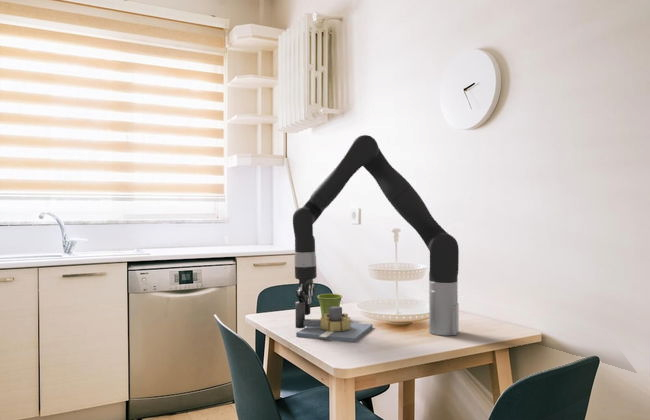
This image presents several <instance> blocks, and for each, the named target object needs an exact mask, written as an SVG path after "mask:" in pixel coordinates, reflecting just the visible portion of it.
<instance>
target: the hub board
mask: <svg viewBox="0 0 650 420" xmlns="http://www.w3.org/2000/svg"><path fill="white" fill-rule="evenodd" d="M342 314H343V307H342V306H340V307H338V306H333V307H329V318H330V321H341V318H342ZM373 326H374V325H373V324H372V323H370V324H369V323H360V322H351V329H349V330H345V331H326V330H323V329H321V327H305V328H301V330H298V331H297V332H296V333H295V336H296V337H299V338H307V339H308V338H309V339H318V340H329V341H336V342H348V343H356V342H357V341H358V340H360V339H361V338H362V337H363V336H365V335H366V334H367V333H368V332H369V331H370V330H372V329H373Z"/></svg>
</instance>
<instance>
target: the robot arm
mask: <svg viewBox="0 0 650 420" xmlns="http://www.w3.org/2000/svg"><path fill="white" fill-rule="evenodd" d="M362 167H363V168H364V170H366V171H367V172H368V173H369V174H370V175H371V176H372V177H373V179H374V180H375V182H376V183H377V185H378V186H379V187H378V188H380V190H381V192H382V194H383V195H384V196H385V197H386V199H387V200H388V203H390V204H391V206H392V208H394V210H395V211H396V212H397V213H398V214H399V216H401V217H402V218H403V220H404V221H406V222H407V223H408V224H409V225H410V226H411V227H412V228H413V229H414V230H415V231H416V233H417V234H418V235H419V237H420V238H421V239H422V241H423V243H424V244H425V246H426V248H427V249H428V251H429V272H428V274H429V275H428V282H429V283H428V287H429V288H428V289H429V290H428V295H429V296H428V298H429V299H428V300H429V302H428V303H429V304H428V305H429V308H428V309H429V313H428V315H429V318H428V319H429V325H428V326H429V328H428V329H429V333H430V334H432V335H436V336H458V333H459V328H460V327H459V320H460V318H459V317H460V316H459V312H460V311H459V302H458V301H459V299H458V296H459V295H458V293H459V292H458V278H459V277H458V275H459V263H460V262H459V261H460V260H459V259H460V257H459V255H460V254H459V253H460V251H459V249H460V248H459V243H458V241H457V240H456V238H455V237H454V236H453V235H451V234H449V233H448V232H447V231H446V230H445V229H444V228H443V227H442V226H441V225H440V224H439V223H438V222H437V220H435V219H434V218H435V217H433V216H432V214H431V212H430V210H429V208H428V207H427V205H426V203H425V202H424V201H423V199H422V198H421V196H420V195H419V193H418V192H417V191H416V189H415V188H414V187H413V186H412V185H411V183H410V182H409V181H408V180H407V179H406V178H405V177H404V176H403V175H402V174H401V173H400V172H399V171H397V170H396V169H395V168H394V167H393V166H392V165H391V164H390V162H389V161H388V160H387V158H386V157H385V155H384V154H383V152H382V150H381V148H379V144H378V143H377V141H376V139H375V138H374V137H372V136H371V135H367V134H364V135H363V134H362V135H360V136H358V137H356V138H355V139H354V141H353V142H352V144H351V145H350V146H349V148H348V150H347V152H346V153H345V155H344V157H343V158H342V159H341V160H340V162H339V163H338V164H337V166H336V167H335V168H334V169H333V170H332V171H331V172H330V173H329V174H328V176H327V177H326V178H324V180H323V181H322V182H321V183H320V184H319V185H318V186H317V187H316V189H315V190H314V191H312V194H311V195H310V198H309V199H308V200H307V201H306V202H305V204H304V205H303V206H302V207H299V208H297V209H296V210H295V211H294V213H293V214H292V226H293V227H292V228H293V235H294V253H295V254H294V278H295V279H296V280H299V281H298V289H297V290H295V294H296V297H297V300H298V301H304V302H305V316H308V315H310V314H311V304H312V301H314V297H315V294H316V290H317V285H316V284H314V279H316V278H317V275H318V274H317V273H318V272H317V256H316V255H317V254H316V238H315V236H314V223H316V221H317V220H318V219H319V217H320V216H321V215H322V213H323V212H324V211H325V209H327V208H328V207H329V206H330V204H332V202H333V201H334V200H335V199H336V198H337V197H338V195H339V194H341V192H342V190H343V189H344V188H345V186H346V185H347V183H348V182H349V181H350V180H351V178H352V177H353V176H354V175H355V174H356V173H357V172H358V171H359V169H361V168H362Z"/></svg>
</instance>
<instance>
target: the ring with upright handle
mask: <svg viewBox="0 0 650 420" xmlns="http://www.w3.org/2000/svg"><path fill="white" fill-rule="evenodd" d="M294 304H295V329H304V328H306V327H321V329H323V330H326V331H345V330H349V329H351V323H352V322H351V320H352V319H351V317H350V316H349V313H345V312H344V313H343V312H342V318H341V321H330V318H329V313H326V314H324V317H322V316H321V317H320V318H319V319H318V318H317V319H315V318H313V319H310V318H309V319H308V318H307V319H306V315H305V302H304V301H299V300H298V301H295V303H294Z"/></svg>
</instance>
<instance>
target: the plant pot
mask: <svg viewBox="0 0 650 420" xmlns="http://www.w3.org/2000/svg"><path fill="white" fill-rule="evenodd" d="M316 298H317V299H318V302H319V306H320V313H321V317H324V314H326V313H329V307H333V306H338V307H341V305H340V304H341V302H342V298H343V295H341V294H338V293H323V294H322V293H321V294H318V295H317V297H316Z"/></svg>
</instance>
